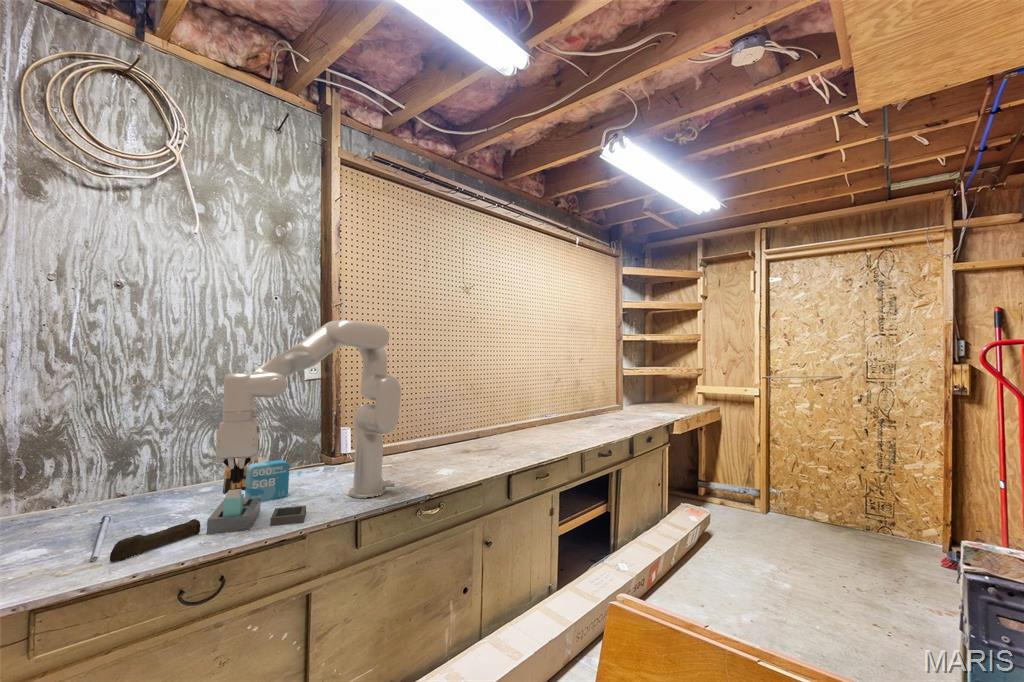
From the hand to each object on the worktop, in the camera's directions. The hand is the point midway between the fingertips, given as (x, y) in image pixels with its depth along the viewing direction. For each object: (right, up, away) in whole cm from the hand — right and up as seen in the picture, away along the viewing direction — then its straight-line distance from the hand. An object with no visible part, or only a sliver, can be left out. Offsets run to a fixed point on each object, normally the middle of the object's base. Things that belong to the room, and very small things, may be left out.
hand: (237, 481), depth 121 cm
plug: (-1, -12, -1) cm, 12 cm away
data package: (-5, -14, +23) cm, 27 cm away
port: (-2, -13, +3) cm, 13 cm away
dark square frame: (+12, -13, +6) cm, 18 cm away
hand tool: (-10, -12, -14) cm, 21 cm away
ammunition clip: (-19, -14, +31) cm, 39 cm away
